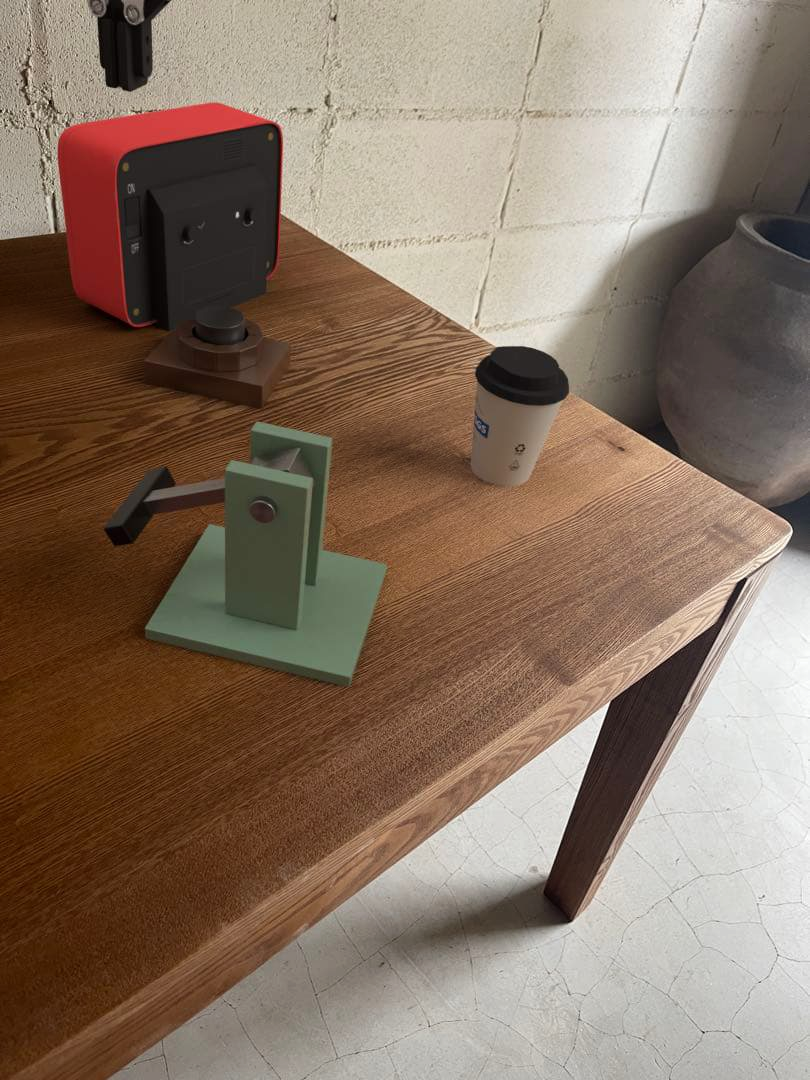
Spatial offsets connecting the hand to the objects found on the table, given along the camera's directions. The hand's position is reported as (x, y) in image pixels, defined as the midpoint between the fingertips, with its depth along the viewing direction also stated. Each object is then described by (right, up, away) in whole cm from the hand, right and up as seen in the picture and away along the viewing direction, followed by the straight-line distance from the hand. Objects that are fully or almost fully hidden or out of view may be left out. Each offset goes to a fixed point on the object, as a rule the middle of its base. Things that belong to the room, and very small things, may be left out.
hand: (127, 84), depth 58 cm
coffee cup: (+26, -26, +10) cm, 38 cm away
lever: (+8, -29, -10) cm, 32 cm away
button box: (+3, -17, +16) cm, 23 cm away
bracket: (+11, -35, -5) cm, 37 cm away
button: (+3, -14, +13) cm, 20 cm away
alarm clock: (-2, -7, +26) cm, 27 cm away
